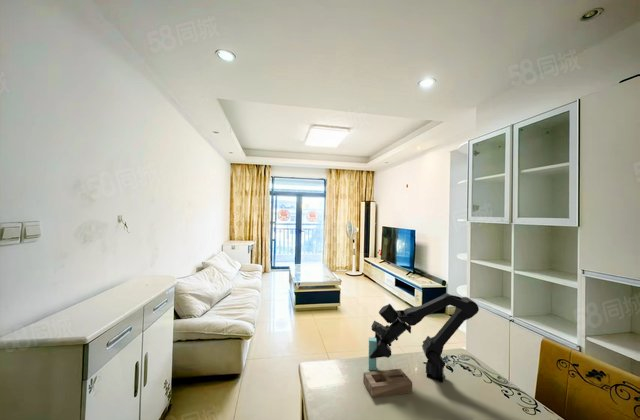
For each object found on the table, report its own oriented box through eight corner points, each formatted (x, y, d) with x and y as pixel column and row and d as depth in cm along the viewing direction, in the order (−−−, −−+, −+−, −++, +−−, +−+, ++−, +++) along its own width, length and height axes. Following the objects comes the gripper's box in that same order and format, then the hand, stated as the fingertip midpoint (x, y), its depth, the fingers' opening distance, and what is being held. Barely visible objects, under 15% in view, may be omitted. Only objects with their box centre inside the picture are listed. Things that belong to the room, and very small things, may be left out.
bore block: (412, 392, 96) (412, 382, 96) (371, 397, 93) (372, 386, 93) (400, 378, 105) (400, 368, 105) (363, 382, 101) (363, 372, 102)
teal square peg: (375, 366, 113) (376, 337, 114) (376, 370, 110) (376, 341, 110) (368, 365, 114) (368, 337, 114) (368, 369, 110) (368, 340, 111)
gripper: (380, 309, 121) (358, 329, 123) (383, 324, 103) (357, 348, 104) (396, 327, 120) (373, 347, 121) (402, 346, 101) (375, 369, 103)
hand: (369, 352), depth 112 cm, fingers open, 9 cm apart
